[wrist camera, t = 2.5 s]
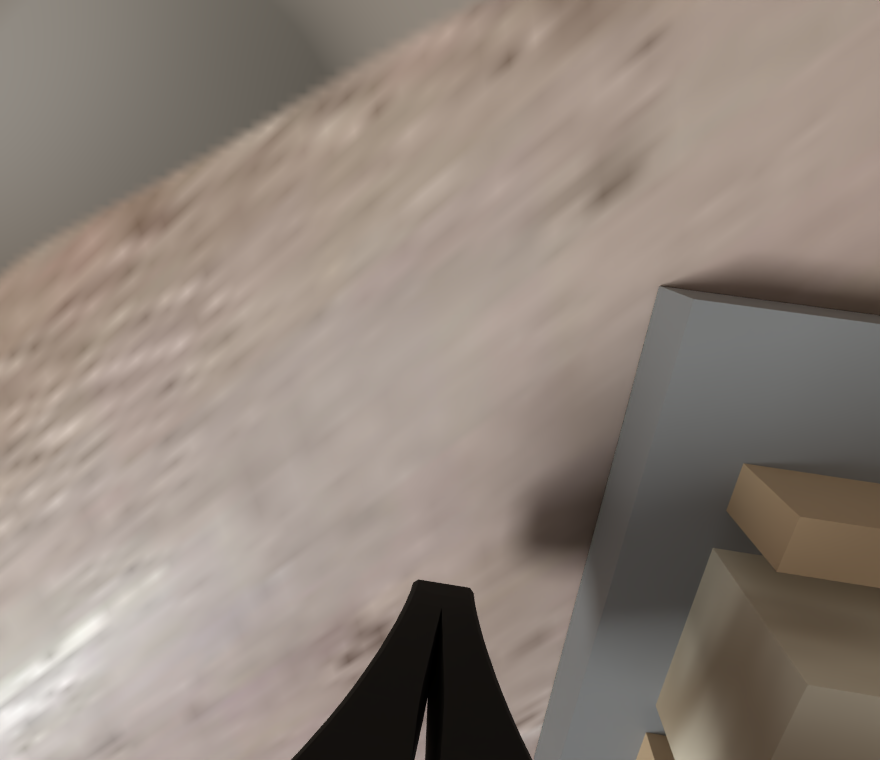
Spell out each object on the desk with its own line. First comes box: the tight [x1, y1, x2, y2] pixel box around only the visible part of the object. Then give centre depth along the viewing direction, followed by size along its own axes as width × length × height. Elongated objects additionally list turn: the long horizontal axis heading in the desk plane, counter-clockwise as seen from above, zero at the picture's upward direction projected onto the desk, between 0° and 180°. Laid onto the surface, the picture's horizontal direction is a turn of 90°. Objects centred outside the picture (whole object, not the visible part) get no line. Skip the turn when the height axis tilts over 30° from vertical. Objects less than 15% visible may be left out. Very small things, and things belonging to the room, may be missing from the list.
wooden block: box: [656, 548, 880, 760], centre depth 10 cm, size 5×5×4 cm
